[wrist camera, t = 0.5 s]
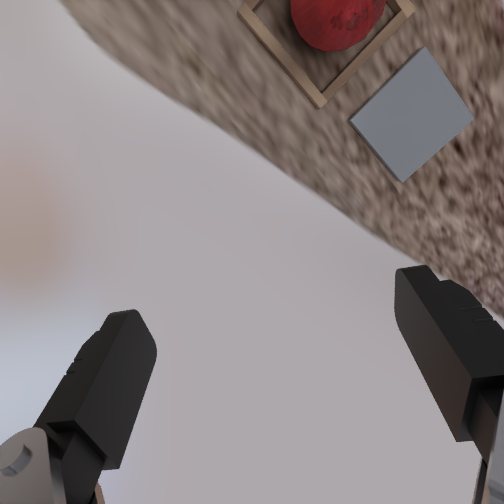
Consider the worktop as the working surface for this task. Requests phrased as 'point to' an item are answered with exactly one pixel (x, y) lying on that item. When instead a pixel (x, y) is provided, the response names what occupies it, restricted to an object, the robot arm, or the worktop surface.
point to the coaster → (411, 115)
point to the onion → (335, 21)
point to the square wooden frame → (402, 10)
